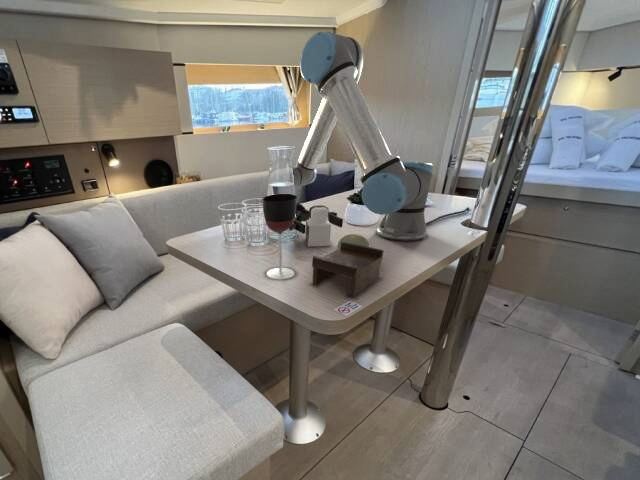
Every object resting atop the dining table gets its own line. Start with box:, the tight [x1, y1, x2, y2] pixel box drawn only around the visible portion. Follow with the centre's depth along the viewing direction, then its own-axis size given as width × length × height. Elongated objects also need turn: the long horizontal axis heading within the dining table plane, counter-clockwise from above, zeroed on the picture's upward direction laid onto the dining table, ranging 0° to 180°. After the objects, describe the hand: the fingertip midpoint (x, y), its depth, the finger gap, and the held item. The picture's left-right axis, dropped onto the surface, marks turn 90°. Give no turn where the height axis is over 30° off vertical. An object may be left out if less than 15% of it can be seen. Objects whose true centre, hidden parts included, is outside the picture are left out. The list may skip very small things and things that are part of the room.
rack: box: [311, 242, 385, 299], centre depth 78 cm, size 14×11×8 cm
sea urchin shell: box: [337, 233, 370, 249], centre depth 96 cm, size 9×8×8 cm
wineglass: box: [261, 193, 298, 280], centre depth 81 cm, size 8×9×20 cm
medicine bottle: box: [305, 205, 332, 248], centre depth 103 cm, size 7×7×12 cm
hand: (323, 226), depth 100 cm, fingers open, 13 cm apart
